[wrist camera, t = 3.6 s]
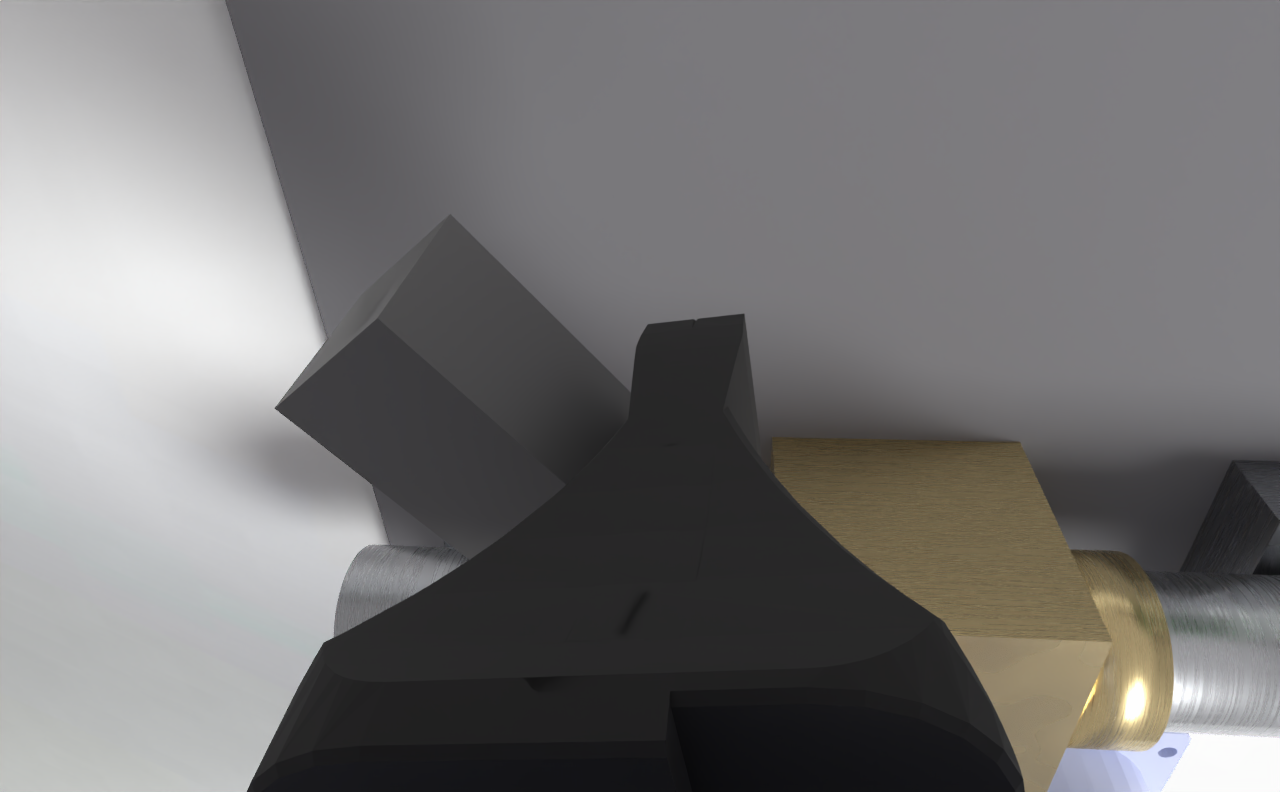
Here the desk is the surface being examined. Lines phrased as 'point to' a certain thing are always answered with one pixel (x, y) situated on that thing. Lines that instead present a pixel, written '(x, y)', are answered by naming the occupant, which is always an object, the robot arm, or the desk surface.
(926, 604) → the pipe and valve
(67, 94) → the desk surface
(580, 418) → the lever
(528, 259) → the pipe mat
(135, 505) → the desk surface
